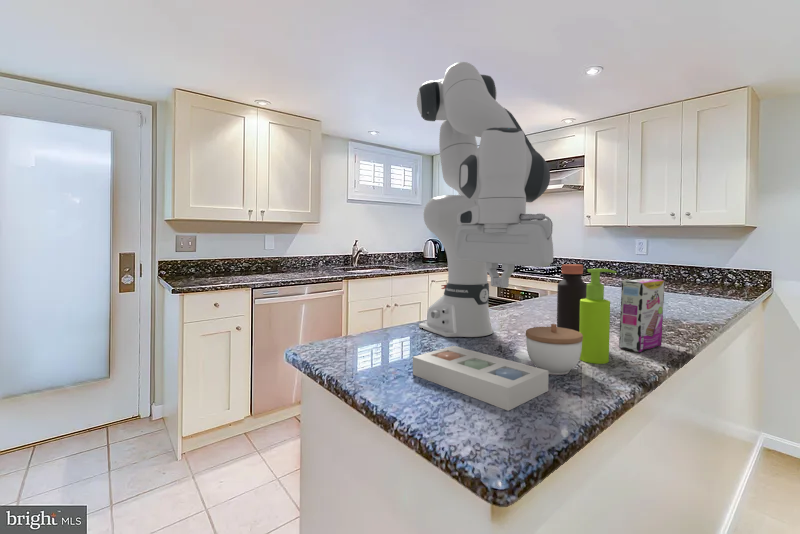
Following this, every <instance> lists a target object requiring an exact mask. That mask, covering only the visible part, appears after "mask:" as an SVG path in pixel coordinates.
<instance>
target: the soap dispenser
mask: <svg viewBox="0 0 800 534" xmlns="http://www.w3.org/2000/svg"><path fill="white" fill-rule="evenodd" d="M617 272H618V271H617V270H613V269H608V268H601V267H600V268H598V267H597V268H587V273H590V282H588V283H587V284H586V285H587V289H586V298H585V299H581V300H580V325H579V332H580V333H582V335H583V340H582V351H581V356H580V359H579V361H582V362H585V363H589V364H593V365H594V364H597V365H603V364H604V365H605V364H608V363H609V362H610V332H611V331H610V329H611V324H610V323H611V316H610V315H611V301H610V300H608V299H605V284H603V283H602V282H601V279H600V278H601V273H613V274H616V273H617Z"/></svg>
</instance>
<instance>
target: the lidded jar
mask: <svg viewBox="0 0 800 534" xmlns="http://www.w3.org/2000/svg"><path fill="white" fill-rule="evenodd" d="M525 336H526V337H525V338H526V339H525V343H526V351H527V355H528V358H529V359H530V361H531V363H532V364H533V365H534V367H537V368H540V369H544V370H548V371H549V373H548V375H553V376H565V375H567V374H569V373H570V371H572V370H573V369H574V368H575V367H576V366H577V365H578V363H579V362H580V356H581V351H582V340H583V335H582V333H580V332H578V331H575V330H572V329H567V328H560V327H557V323H556V324H555V323H551V324H550V326H534V327H530V328H527V329H526V330H525Z"/></svg>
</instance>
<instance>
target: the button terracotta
mask: <svg viewBox="0 0 800 534" xmlns="http://www.w3.org/2000/svg"><path fill="white" fill-rule="evenodd" d="M437 357H438V358H442V359H445V360H448V361H451V360H454V359H457V358H460V355H459V354H457V353H454V352H442V353H439V354H438V355H437Z"/></svg>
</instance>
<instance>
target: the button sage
mask: <svg viewBox="0 0 800 534" xmlns="http://www.w3.org/2000/svg"><path fill="white" fill-rule="evenodd" d="M464 366H468V367H471V368H474V369H478V370H480V369H483V368H486V367H488V366H489V364H488V362H486V361H483V360H467V361H465V362H464Z"/></svg>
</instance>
